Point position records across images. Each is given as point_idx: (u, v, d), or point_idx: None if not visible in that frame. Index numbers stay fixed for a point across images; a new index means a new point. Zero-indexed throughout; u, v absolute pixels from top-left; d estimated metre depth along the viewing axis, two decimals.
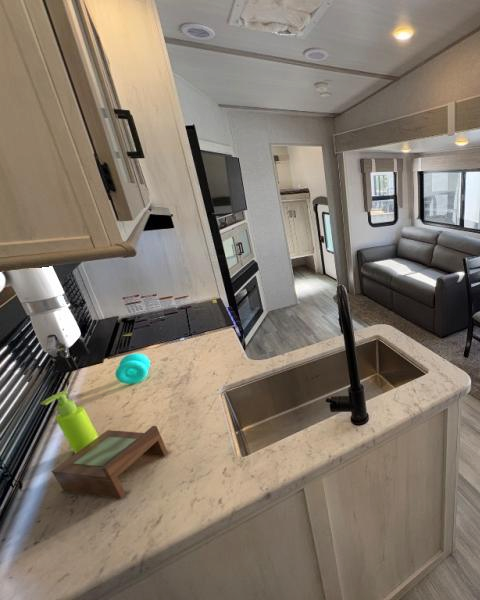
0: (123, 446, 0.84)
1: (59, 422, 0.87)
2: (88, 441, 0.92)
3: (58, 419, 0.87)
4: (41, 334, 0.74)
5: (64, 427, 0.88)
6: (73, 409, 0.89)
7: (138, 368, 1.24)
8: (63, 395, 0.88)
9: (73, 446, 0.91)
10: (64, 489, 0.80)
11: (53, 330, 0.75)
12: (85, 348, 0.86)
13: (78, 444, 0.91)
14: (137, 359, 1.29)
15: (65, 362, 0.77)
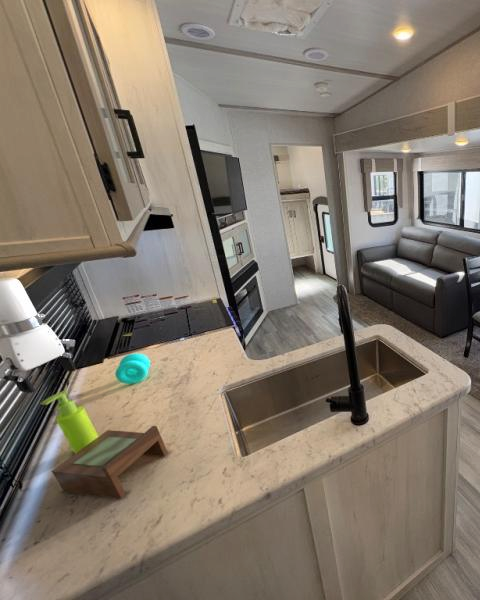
0: (123, 446, 0.84)
1: (59, 422, 0.87)
2: (88, 441, 0.92)
3: (58, 419, 0.87)
4: (2, 355, 0.77)
5: (64, 427, 0.88)
6: (73, 409, 0.89)
7: (138, 368, 1.24)
8: (63, 395, 0.88)
9: (73, 446, 0.91)
10: (64, 489, 0.80)
11: (8, 354, 0.77)
12: (70, 365, 0.89)
13: (78, 444, 0.91)
14: (137, 359, 1.29)
15: (19, 384, 0.79)
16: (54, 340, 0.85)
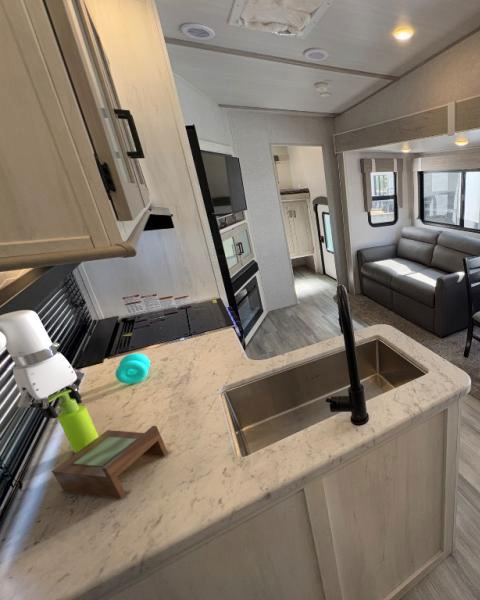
0: (123, 446, 0.84)
1: (61, 420, 0.88)
2: (89, 440, 0.92)
3: (60, 417, 0.88)
4: (18, 385, 0.80)
5: (66, 425, 0.88)
6: (75, 408, 0.90)
7: (138, 368, 1.24)
8: (66, 393, 0.88)
9: (73, 445, 0.91)
10: (64, 489, 0.80)
11: (24, 384, 0.80)
12: (77, 398, 0.90)
13: (79, 443, 0.91)
14: (137, 359, 1.29)
15: (44, 411, 0.84)
16: (67, 368, 0.88)
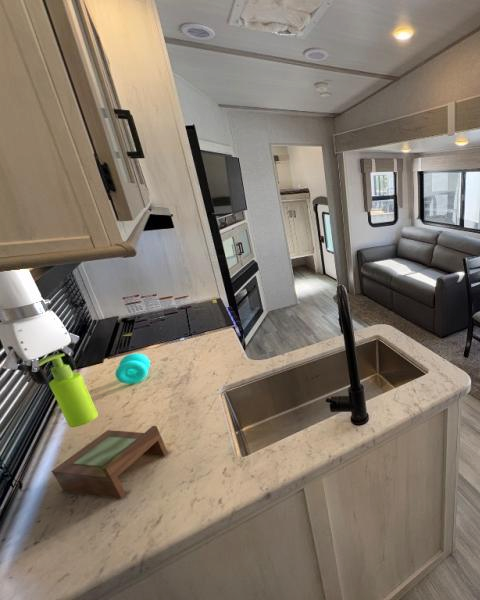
0: (123, 446, 0.84)
1: (53, 387, 0.78)
2: (85, 411, 0.82)
3: (52, 384, 0.78)
4: (3, 343, 0.70)
5: (58, 393, 0.78)
6: (69, 374, 0.80)
7: (138, 368, 1.24)
8: (59, 357, 0.78)
9: (67, 416, 0.81)
10: (64, 489, 0.80)
11: (11, 342, 0.70)
12: (71, 364, 0.80)
13: (73, 414, 0.81)
14: (137, 359, 1.29)
15: (34, 375, 0.74)
16: (60, 328, 0.78)
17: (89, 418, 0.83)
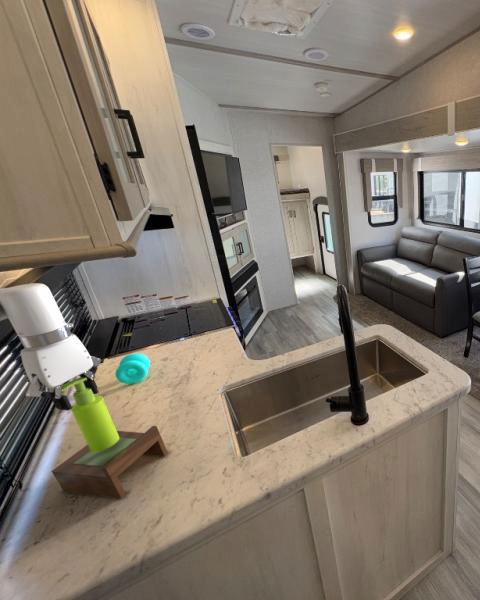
0: (123, 446, 0.84)
1: (75, 413, 0.76)
2: (106, 436, 0.81)
3: (74, 409, 0.76)
4: (27, 370, 0.69)
5: (81, 418, 0.77)
6: (91, 399, 0.78)
7: (138, 368, 1.24)
8: (81, 381, 0.77)
9: (89, 441, 0.79)
10: (64, 489, 0.80)
11: (34, 369, 0.68)
12: (93, 388, 0.79)
13: (95, 439, 0.79)
14: (137, 359, 1.29)
15: (56, 401, 0.72)
16: (83, 353, 0.76)
17: (111, 442, 0.82)
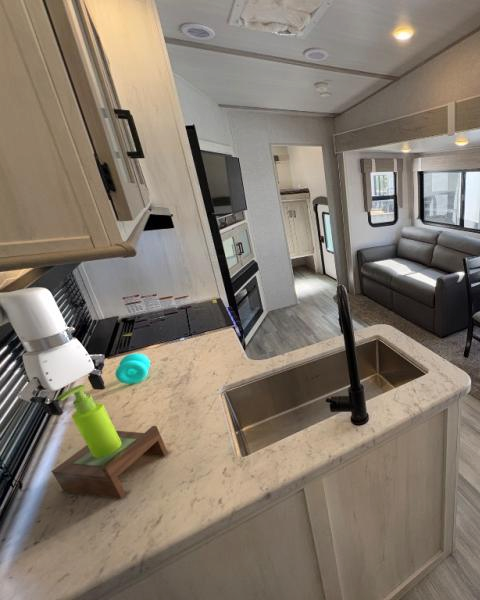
0: (123, 446, 0.84)
1: (76, 420, 0.76)
2: (109, 442, 0.81)
3: (75, 417, 0.76)
4: (28, 374, 0.69)
5: (82, 426, 0.77)
6: (92, 406, 0.78)
7: (138, 368, 1.24)
8: (80, 390, 0.77)
9: (91, 448, 0.80)
10: (64, 489, 0.80)
11: (36, 373, 0.68)
12: (100, 383, 0.80)
13: (98, 446, 0.80)
14: (137, 359, 1.29)
15: (47, 406, 0.71)
16: (84, 356, 0.76)
17: (113, 448, 0.82)
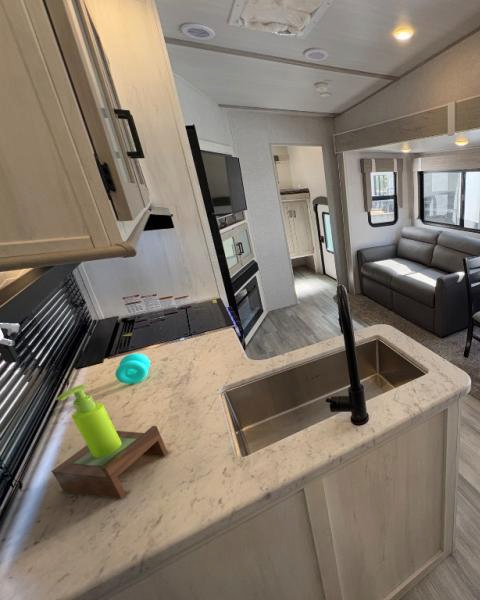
0: (123, 446, 0.84)
1: (76, 420, 0.76)
2: (109, 442, 0.81)
3: (75, 417, 0.76)
4: None
5: (82, 426, 0.77)
6: (92, 406, 0.78)
7: (138, 368, 1.24)
8: (81, 390, 0.77)
9: (91, 448, 0.80)
10: (64, 489, 0.80)
11: None
12: (11, 355, 0.72)
13: (98, 446, 0.80)
14: (137, 359, 1.29)
15: None
16: None
17: (113, 448, 0.82)
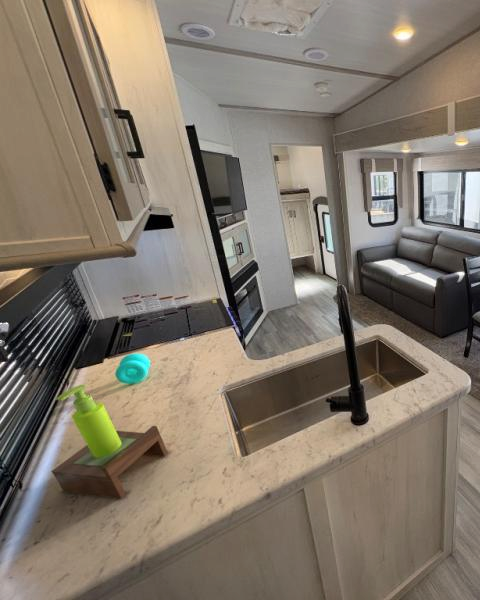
0: (123, 446, 0.84)
1: (76, 420, 0.76)
2: (109, 442, 0.81)
3: (75, 417, 0.76)
4: None
5: (82, 426, 0.77)
6: (92, 406, 0.78)
7: (138, 368, 1.24)
8: (81, 389, 0.77)
9: (91, 448, 0.80)
10: (64, 489, 0.80)
11: None
12: (1, 355, 0.72)
13: (98, 446, 0.80)
14: (137, 359, 1.29)
15: None
16: None
17: (113, 448, 0.82)
